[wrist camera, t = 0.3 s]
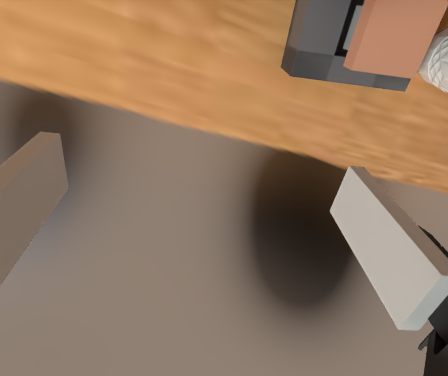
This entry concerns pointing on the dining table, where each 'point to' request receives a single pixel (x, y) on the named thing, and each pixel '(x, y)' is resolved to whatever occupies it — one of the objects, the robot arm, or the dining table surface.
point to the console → (327, 45)
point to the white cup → (436, 62)
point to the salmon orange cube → (392, 35)
